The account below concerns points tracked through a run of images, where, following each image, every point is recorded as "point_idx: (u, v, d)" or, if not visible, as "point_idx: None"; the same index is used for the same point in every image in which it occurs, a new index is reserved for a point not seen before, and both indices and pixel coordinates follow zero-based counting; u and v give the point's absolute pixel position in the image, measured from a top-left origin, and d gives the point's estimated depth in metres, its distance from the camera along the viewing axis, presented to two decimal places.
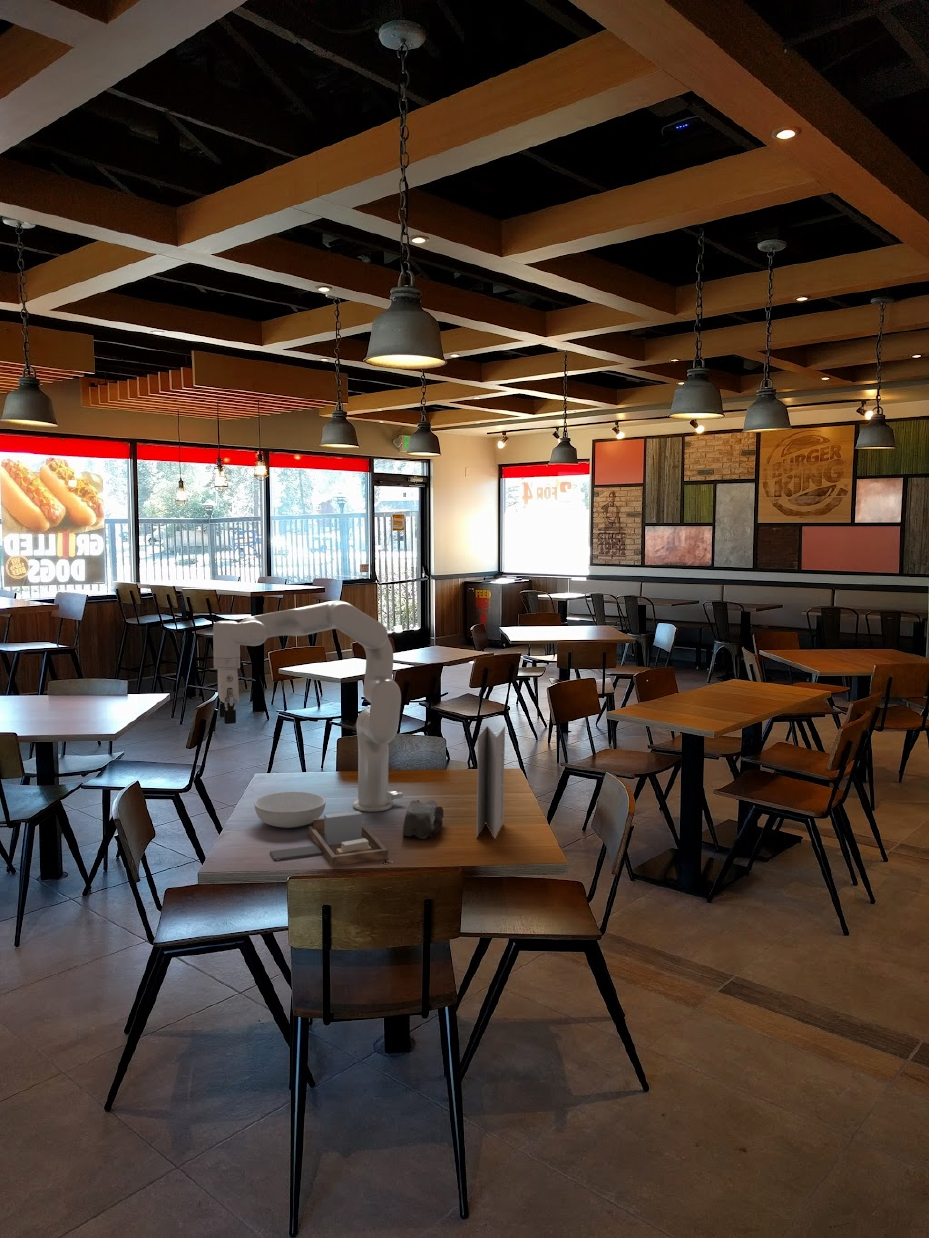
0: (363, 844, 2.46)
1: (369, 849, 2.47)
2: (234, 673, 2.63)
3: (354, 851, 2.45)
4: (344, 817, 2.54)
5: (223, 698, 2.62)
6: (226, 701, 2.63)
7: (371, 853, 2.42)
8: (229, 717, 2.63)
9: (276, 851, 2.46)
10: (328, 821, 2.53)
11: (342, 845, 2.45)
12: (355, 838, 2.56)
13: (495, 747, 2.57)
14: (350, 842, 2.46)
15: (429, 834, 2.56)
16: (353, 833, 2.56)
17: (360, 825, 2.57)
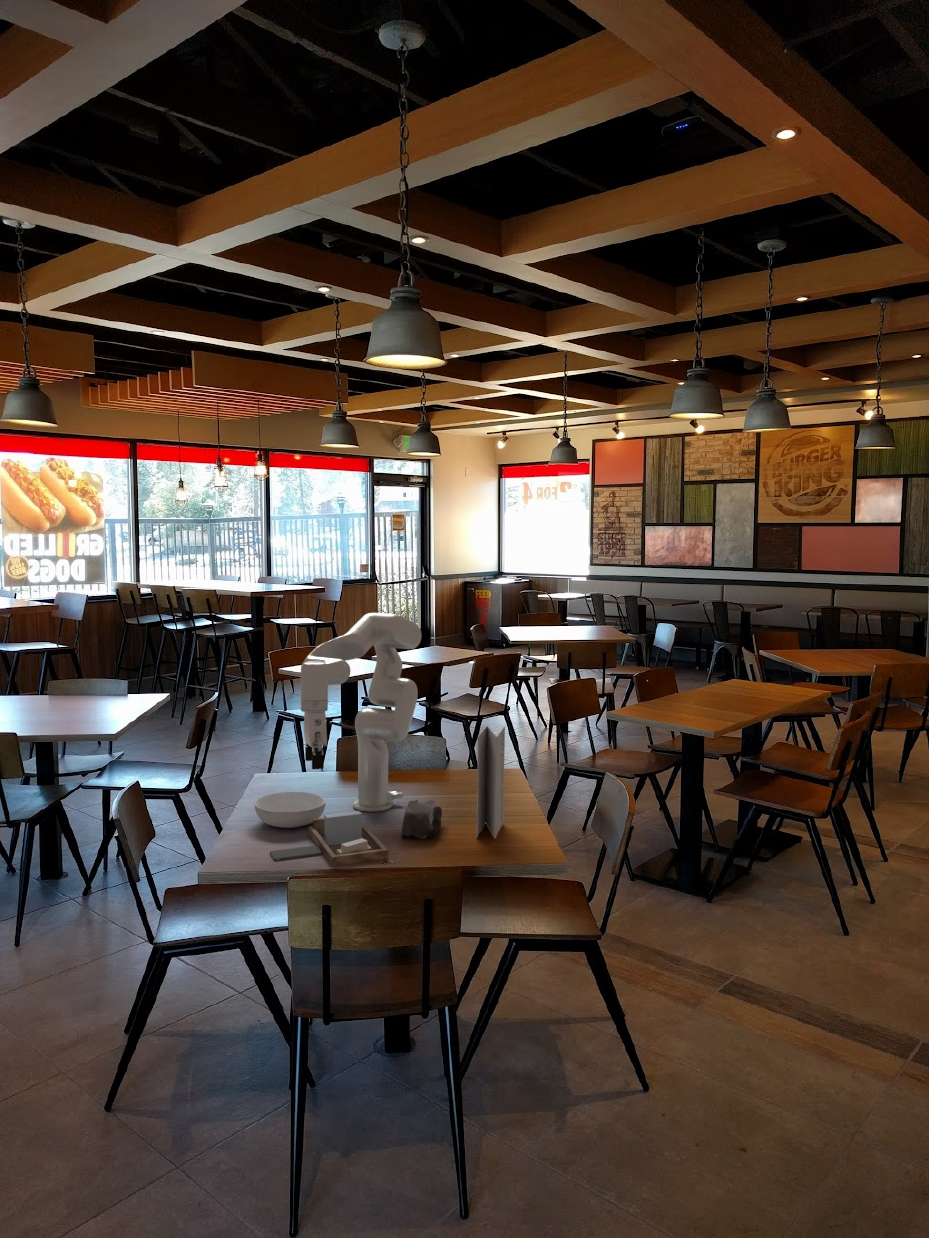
0: (362, 844, 2.46)
1: (369, 849, 2.46)
2: (322, 716, 2.52)
3: (355, 851, 2.45)
4: (343, 817, 2.54)
5: (311, 742, 2.52)
6: (314, 746, 2.52)
7: (371, 853, 2.42)
8: (317, 762, 2.52)
9: (276, 851, 2.46)
10: (328, 821, 2.53)
11: (342, 847, 2.44)
12: (355, 838, 2.56)
13: (495, 747, 2.57)
14: (350, 843, 2.45)
15: (428, 834, 2.56)
16: (353, 833, 2.56)
17: (360, 825, 2.57)
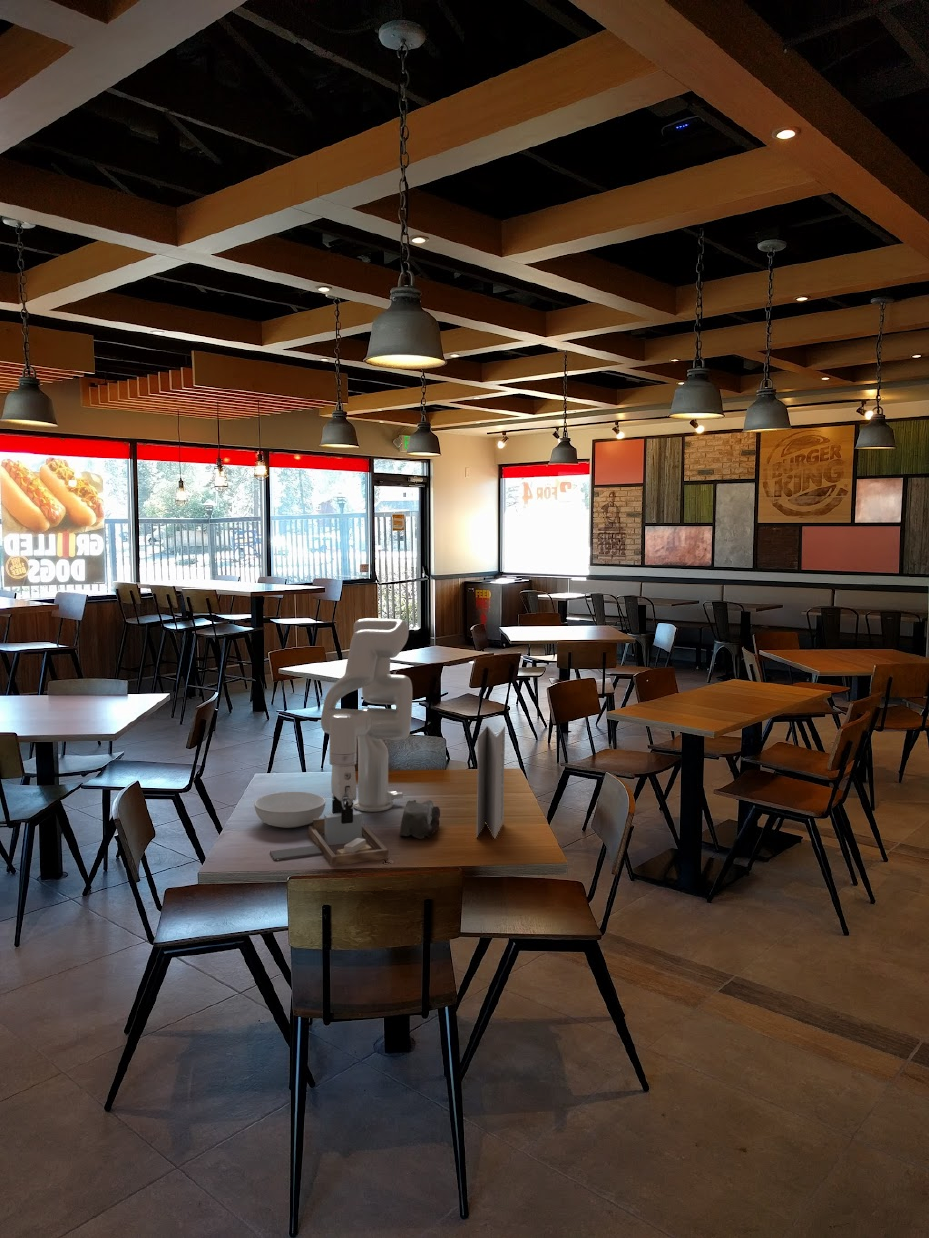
0: (362, 843, 2.47)
1: (369, 849, 2.47)
2: (352, 770, 2.50)
3: None
4: None
5: (340, 796, 2.50)
6: (343, 800, 2.50)
7: (371, 853, 2.42)
8: (347, 817, 2.49)
9: (276, 851, 2.46)
10: (328, 821, 2.53)
11: (346, 848, 2.43)
12: (355, 838, 2.56)
13: (495, 747, 2.57)
14: (352, 843, 2.45)
15: (426, 834, 2.56)
16: (353, 833, 2.56)
17: (360, 825, 2.57)
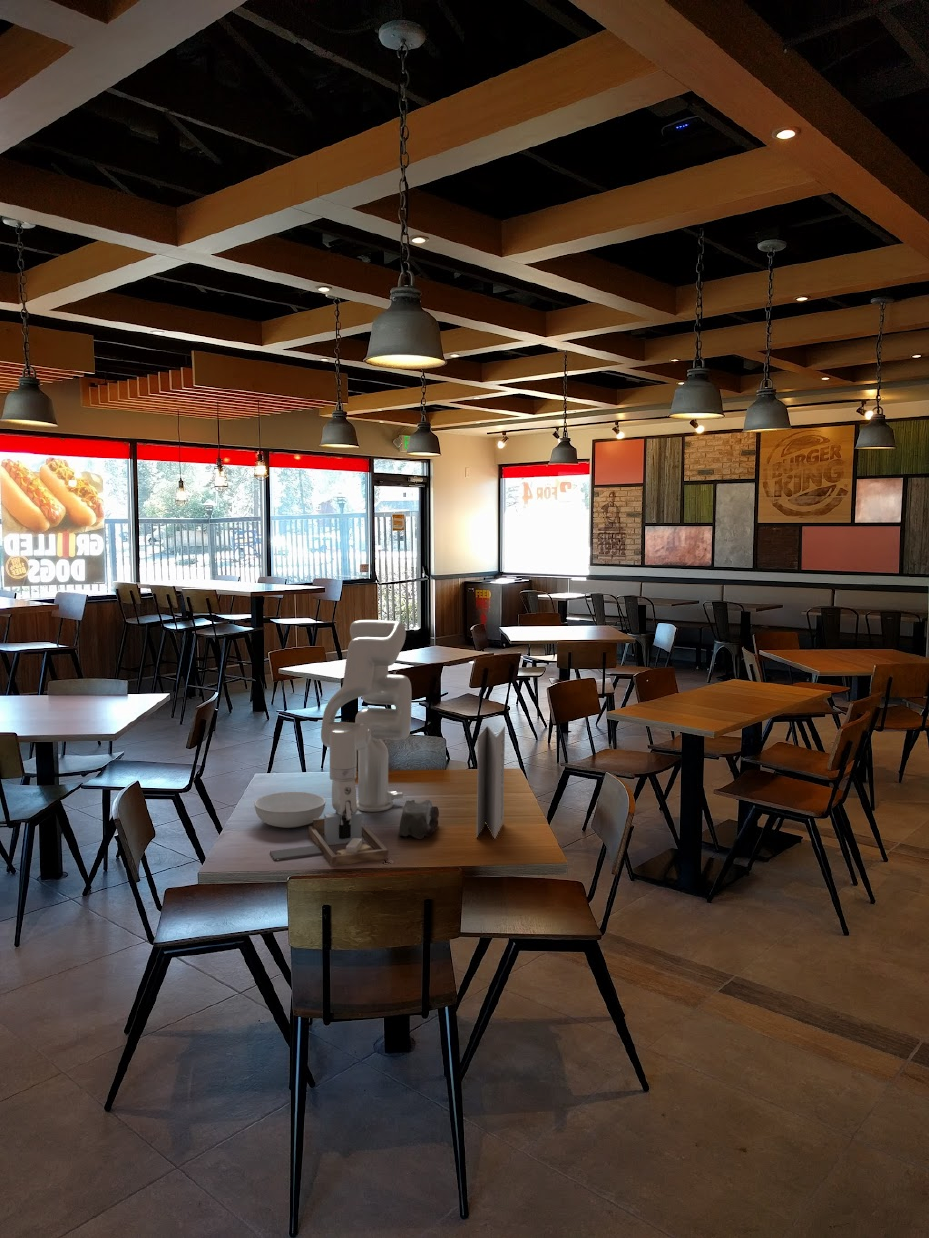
0: (360, 842, 2.47)
1: (369, 848, 2.47)
2: (352, 785, 2.51)
3: None
4: (343, 817, 2.54)
5: (341, 811, 2.50)
6: (342, 816, 2.53)
7: (371, 853, 2.42)
8: (344, 832, 2.53)
9: (276, 851, 2.46)
10: (328, 821, 2.53)
11: (348, 849, 2.42)
12: None
13: (495, 747, 2.57)
14: (352, 844, 2.44)
15: (425, 834, 2.56)
16: (353, 833, 2.56)
17: (360, 825, 2.56)
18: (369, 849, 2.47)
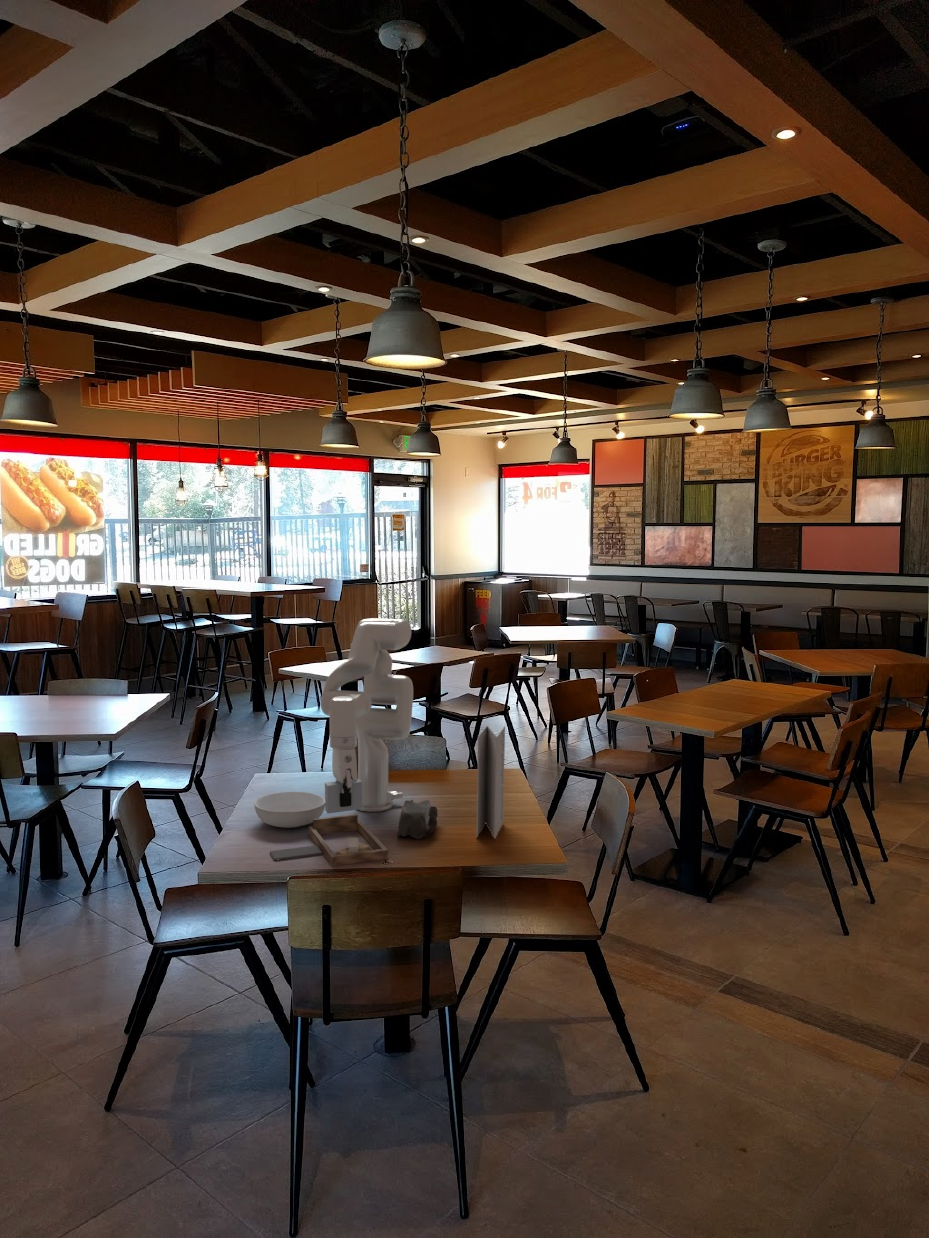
0: None
1: (368, 847, 2.48)
2: (352, 753, 2.50)
3: None
4: (344, 785, 2.54)
5: (341, 779, 2.50)
6: (343, 784, 2.52)
7: (371, 853, 2.42)
8: (345, 800, 2.53)
9: (276, 851, 2.46)
10: (328, 789, 2.52)
11: (351, 849, 2.42)
12: (356, 806, 2.56)
13: (495, 747, 2.57)
14: (353, 844, 2.45)
15: (424, 834, 2.56)
16: (354, 801, 2.56)
17: (361, 793, 2.56)
18: (368, 848, 2.48)
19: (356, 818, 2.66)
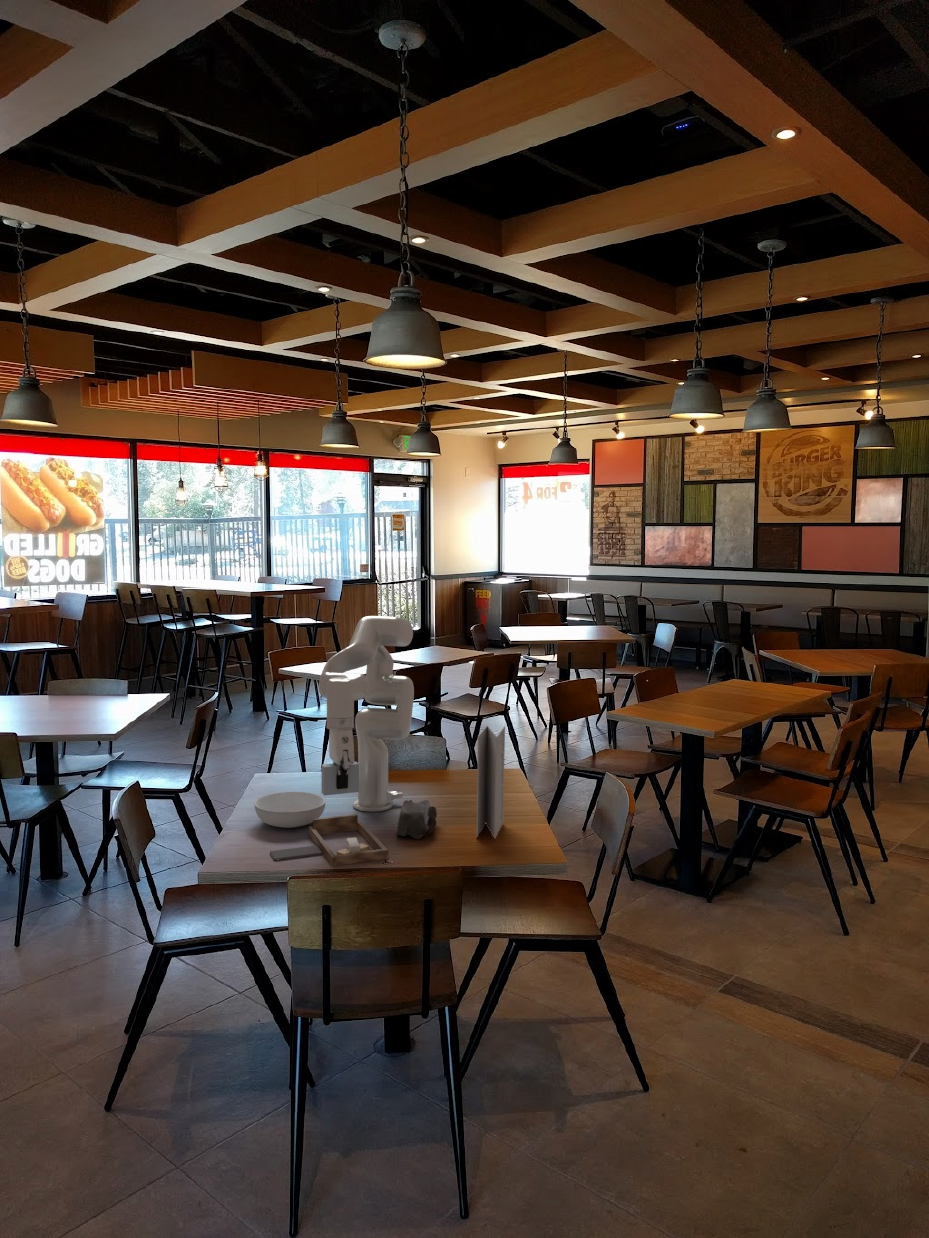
0: None
1: (367, 847, 2.48)
2: (349, 734, 2.49)
3: None
4: None
5: (338, 760, 2.48)
6: (339, 766, 2.50)
7: (371, 853, 2.42)
8: (342, 782, 2.51)
9: (276, 851, 2.46)
10: (325, 771, 2.50)
11: (353, 849, 2.43)
12: (352, 788, 2.54)
13: (495, 747, 2.57)
14: (353, 843, 2.45)
15: (423, 834, 2.56)
16: (350, 784, 2.54)
17: (358, 775, 2.54)
18: (368, 848, 2.48)
19: (356, 818, 2.66)
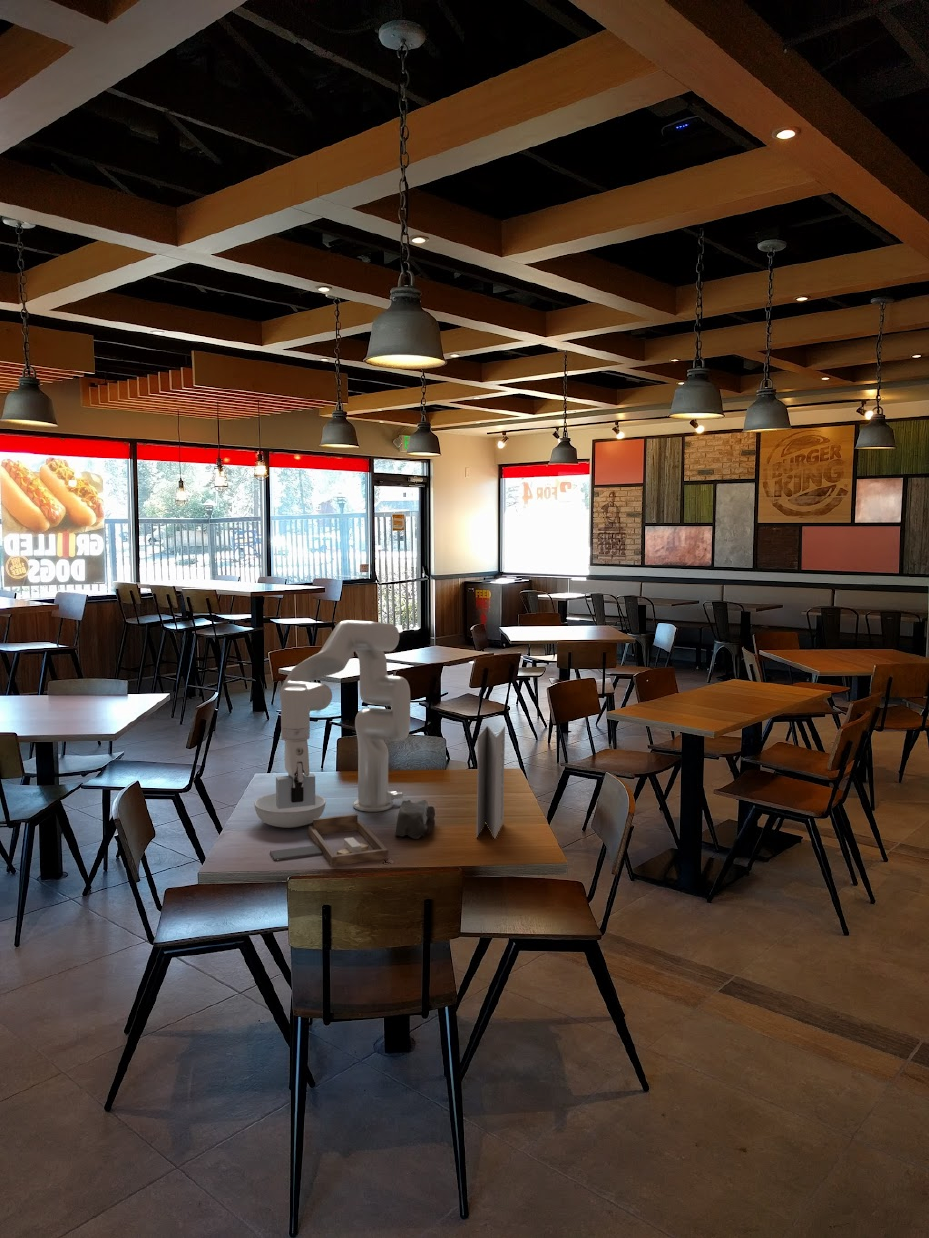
0: None
1: (367, 847, 2.49)
2: (304, 745, 2.40)
3: None
4: (296, 779, 2.43)
5: (292, 773, 2.39)
6: (294, 778, 2.41)
7: (371, 853, 2.42)
8: (296, 795, 2.42)
9: (276, 851, 2.46)
10: (279, 783, 2.41)
11: (355, 848, 2.43)
12: (308, 801, 2.45)
13: (495, 747, 2.57)
14: (354, 843, 2.45)
15: (422, 834, 2.56)
16: (306, 796, 2.44)
17: (314, 788, 2.45)
18: (367, 848, 2.49)
19: (356, 818, 2.66)
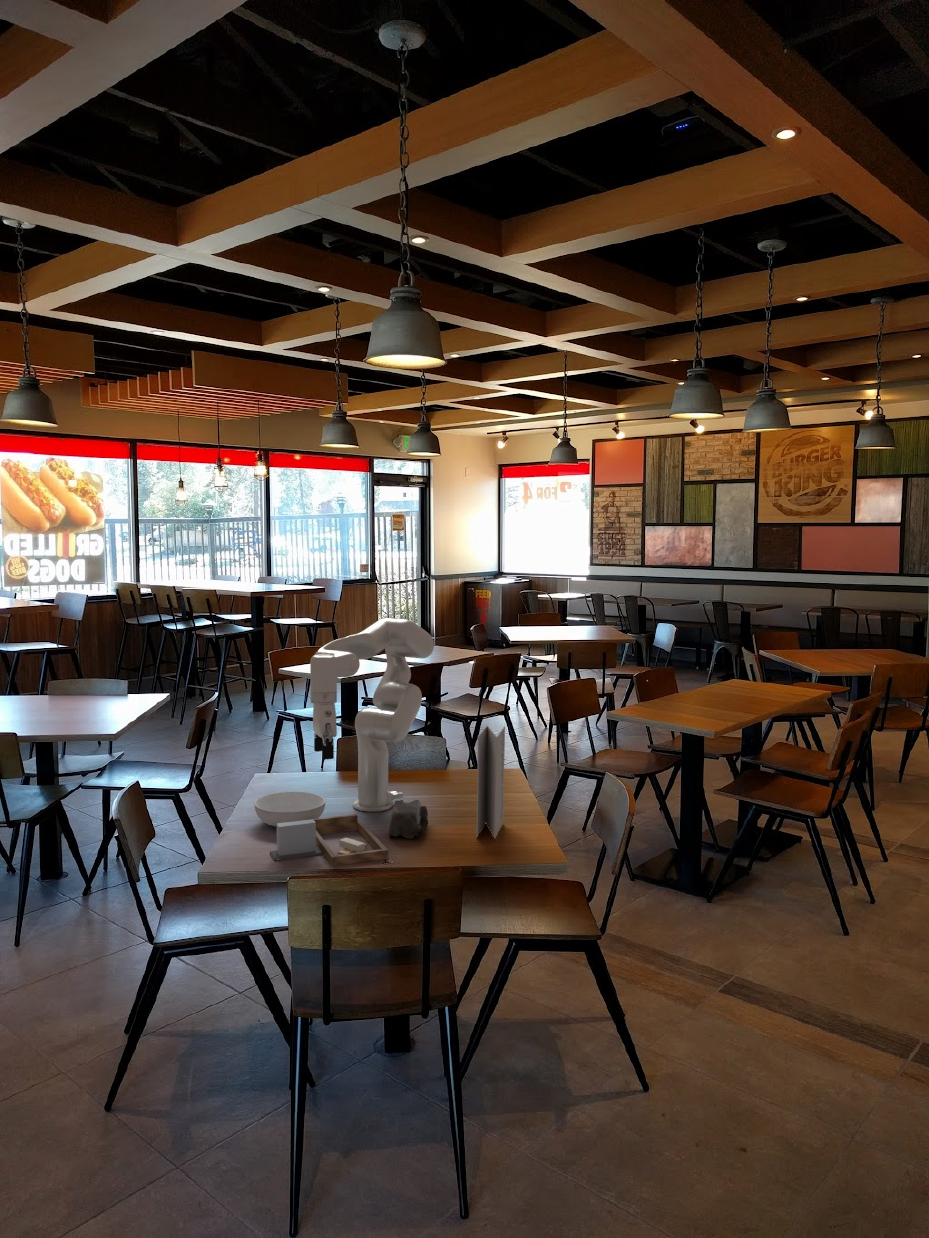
0: None
1: (365, 845, 2.50)
2: (332, 708, 2.59)
3: None
4: (296, 826, 2.44)
5: (321, 733, 2.58)
6: (324, 736, 2.59)
7: (371, 853, 2.42)
8: (327, 753, 2.59)
9: (276, 851, 2.46)
10: (280, 830, 2.43)
11: (360, 847, 2.44)
12: (309, 848, 2.46)
13: (495, 747, 2.57)
14: (355, 842, 2.46)
15: (416, 834, 2.57)
16: (307, 843, 2.46)
17: (314, 834, 2.46)
18: (365, 846, 2.50)
19: (356, 818, 2.66)
